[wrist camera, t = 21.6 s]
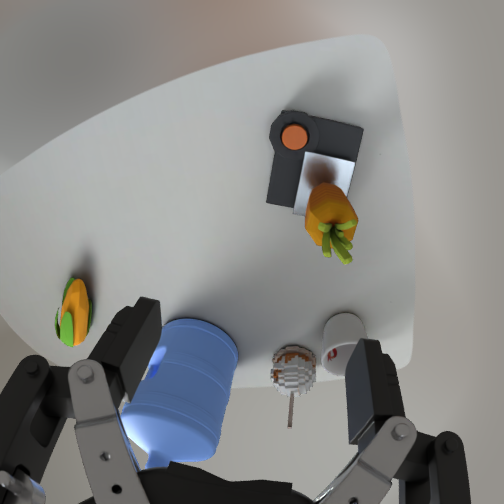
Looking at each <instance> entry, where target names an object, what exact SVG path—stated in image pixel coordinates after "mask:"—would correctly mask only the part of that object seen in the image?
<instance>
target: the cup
mask: <svg viewBox="0 0 504 504" xmlns="http://www.w3.org/2000/svg"><path fill="white" fill-rule="evenodd" d="M360 338H365V339H368V336H367V333H366V330H365V327H364V325H363V323H362V321H361V320H360V319H359V318H358V317H357V316H355V315H353V314H350V313H342V314H338V315H335V316H333V317H332V318H331V319H329V320H328V322H327V323H326V325H325V328H324V333H323V344H322V353H321V364H322V366H323V368H324V369H325V370H326V371H327V372H329V373H331V374H333V375H337V376H345V370H346V366H347V363H348V361H349V359H350V357H351V355H352V353H353V351H354V349H355V347H356V345H357V343H358V341H359V339H360Z"/></svg>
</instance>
